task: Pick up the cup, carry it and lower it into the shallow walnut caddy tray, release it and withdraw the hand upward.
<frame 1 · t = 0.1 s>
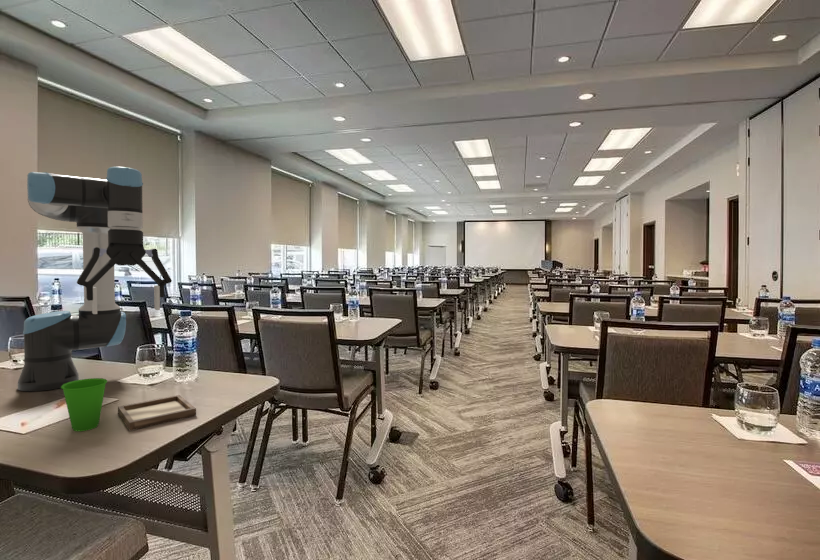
hand: (127, 311, 110), 28 cm above the table, fingers open, 13 cm apart
tray: (156, 414, 114), on the table
cup: (85, 428, 105), on the table
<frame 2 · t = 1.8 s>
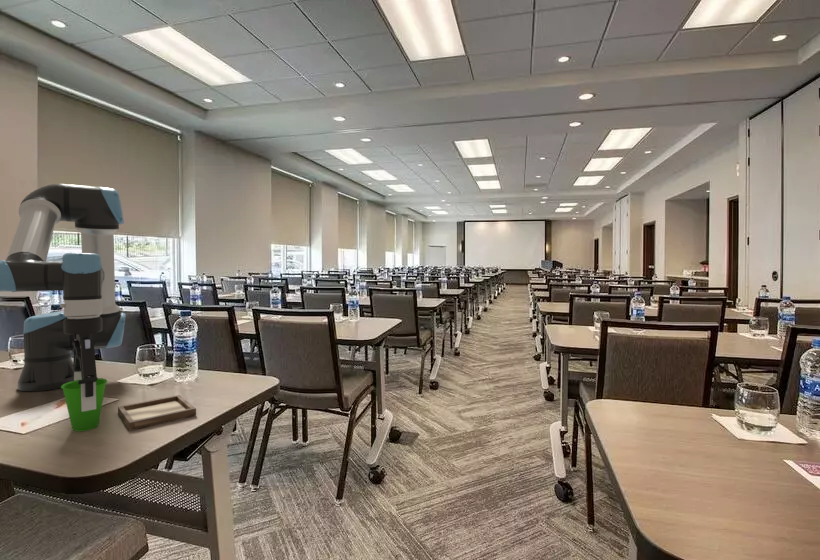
hand: (85, 403, 104), 6 cm above the table, fingers open, 13 cm apart
nothing on the table moved.
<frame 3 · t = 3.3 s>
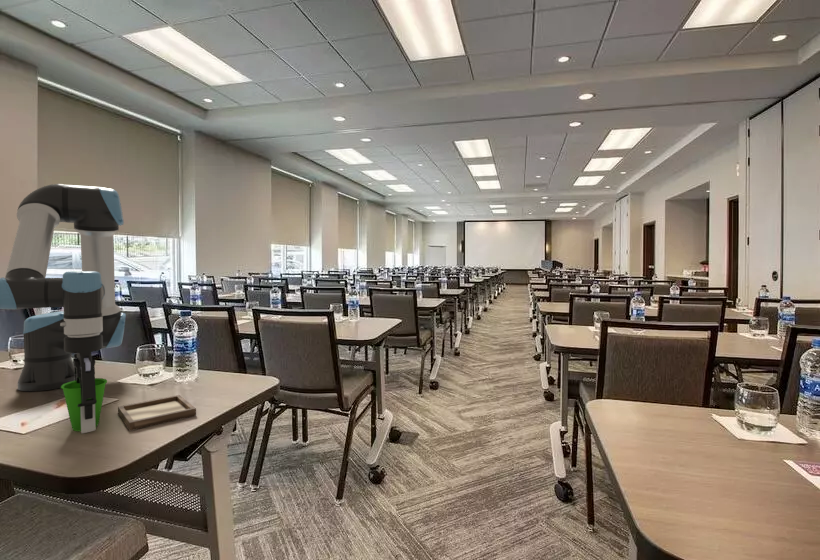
hand: (85, 425, 105), 0 cm above the table, fingers closed on cup, 9 cm apart
cup: (85, 428, 105), on the table, touching gripper
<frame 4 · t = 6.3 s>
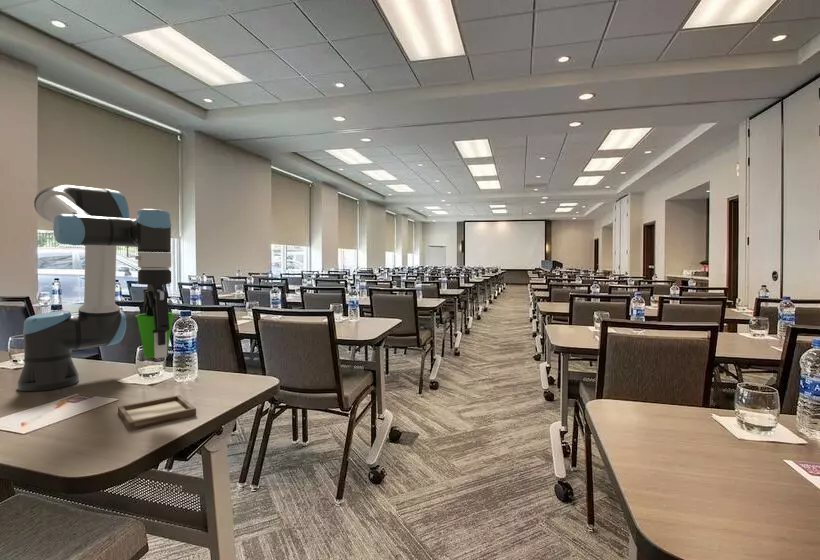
hand: (156, 353, 113), 16 cm above the table, fingers closed on cup, 9 cm apart
cup: (156, 356, 113), point 16 cm above the table, touching gripper
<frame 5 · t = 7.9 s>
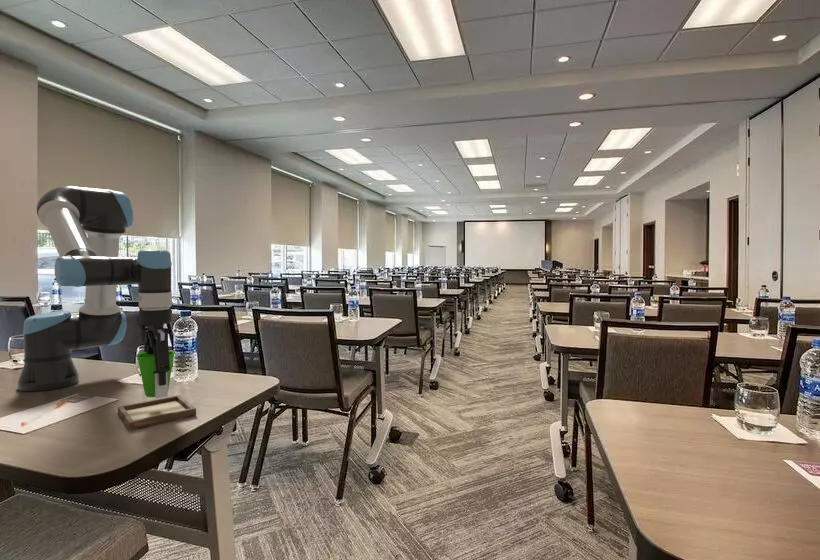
hand: (156, 392, 113), 6 cm above the table, fingers closed on cup, 9 cm apart
cup: (156, 395, 113), point 5 cm above the table, touching gripper
when the fingers open (3 cm above the table, at t = 9.4 s): cup drops 2 cm, resting on tray.
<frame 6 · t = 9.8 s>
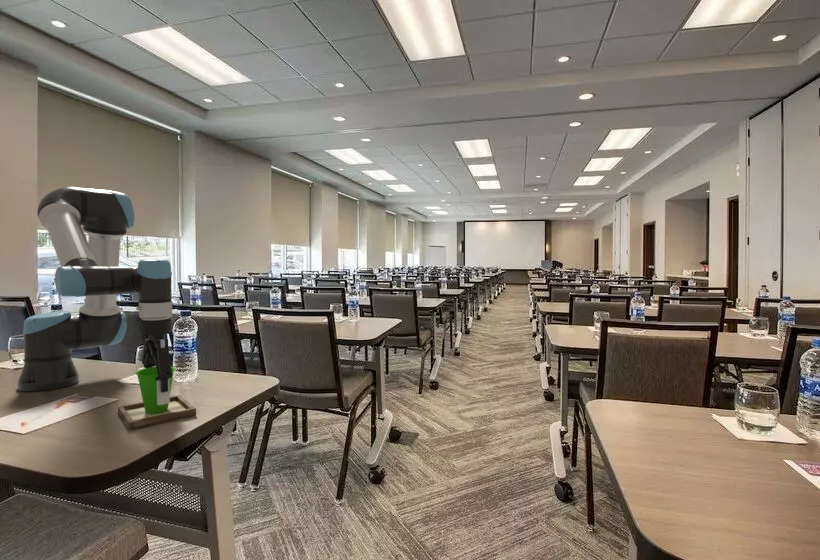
hand: (156, 397, 114), 5 cm above the table, fingers open, 13 cm apart
cup: (156, 411, 114), point 1 cm above the table, touching tray
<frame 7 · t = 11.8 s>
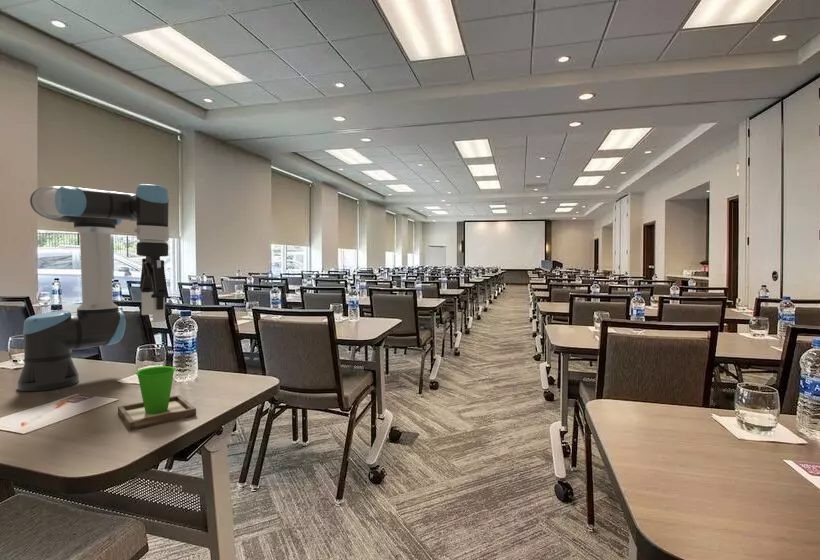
hand: (152, 318, 119), 25 cm above the table, fingers open, 13 cm apart
nothing on the table moved.
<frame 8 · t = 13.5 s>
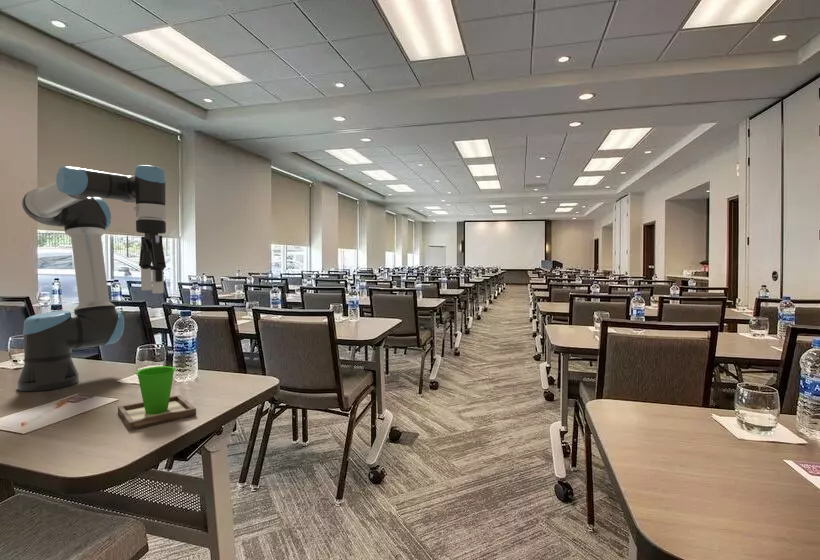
hand: (152, 291, 127), 32 cm above the table, fingers open, 13 cm apart
nothing on the table moved.
at the end: cup inside the target area on the tray (0.1 cm from its centre), point 0.8 cm above the tray's base; cup tilted 0°; cup touching tray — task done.
